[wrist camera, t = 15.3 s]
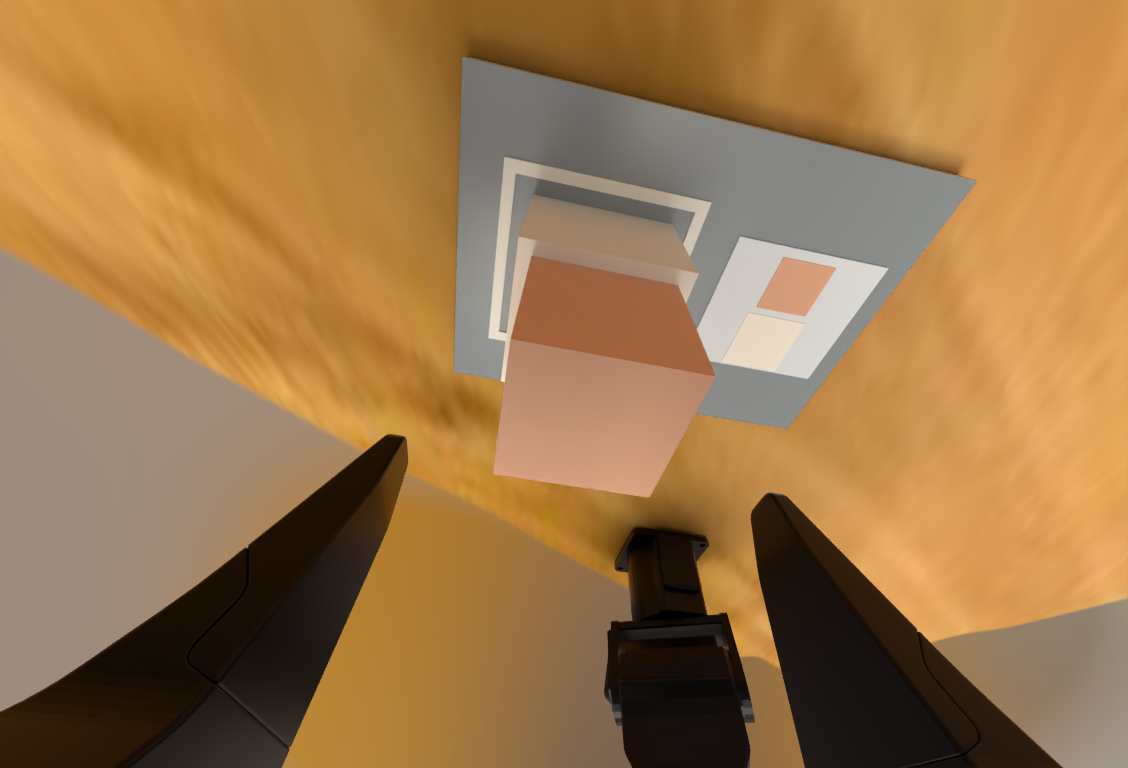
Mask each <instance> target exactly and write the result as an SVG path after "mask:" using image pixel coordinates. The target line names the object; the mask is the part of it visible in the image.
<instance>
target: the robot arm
mask: <svg viewBox="0 0 1128 768" xmlns="http://www.w3.org/2000/svg"><path fill="white" fill-rule="evenodd" d="M407 465H408V451H407V440H406V438H405V437H404V436H400V435H393V434H388V435H386V436H384V437H383V438H382V439H380V440H379V441H378V442H377V443H375V444H374V445H373V446H372V447H370V448H369V449H368V450H367V451H365V452H364V453H363V454H362V455H360V456H359V457H358V458H357V459H355V460H354V461H353V462H352V463H350V464H349V465H348V466H347V467H346V468H344V469H343V470H342V471H340V472H339V473H338V474H337V475H336V476H334V477H333V478H332V479H330V480H329V481H328V482H327V483H325V484H324V485H323V486H322V487H320V488H319V489H318V490H317V491H315V492H314V493H313V494H312V495H310V496H309V497H308V498H307V499H306V500H304V501H303V502H302V503H300V504H299V505H298V506H297V507H295V508H294V509H293V510H292V511H290V512H289V513H288V514H287V515H285V516H284V517H283V518H282V519H280V520H279V521H278V522H277V523H275V524H274V525H273V526H272V527H270V528H269V529H268V530H267V531H265V532H264V533H263V534H262V535H260V536H259V537H258V538H257V539H255V540H254V541H253V542H252V543H250V544H249V545H248V548H244V549H243V550H242V551H240V552H239V553H238V554H236V555H235V556H234V557H233V558H231V559H230V560H229V561H228V562H226V563H225V564H224V565H222V566H221V567H220V568H219V569H217V570H216V571H215V572H213V573H212V574H211V575H209V576H208V577H207V578H206V579H204V580H203V581H202V582H200V583H199V584H198V585H196V586H195V587H193V588H192V589H191V590H189V591H188V592H187V593H185V594H184V595H183V596H181V597H179V598H178V599H177V600H175V601H174V602H172V603H171V604H170V605H168V606H167V607H165V608H164V609H163V610H161V611H160V612H158V613H157V614H155V615H154V616H152V617H151V618H149V619H148V620H147V621H145V622H144V623H142V624H141V625H140V626H138V627H136V628H135V629H133V630H132V631H130V632H129V633H128V634H126V635H125V636H123V637H122V638H120V639H119V640H117V641H116V642H114V643H113V644H112V645H110V646H109V647H107V648H106V649H104V650H103V651H101V652H100V653H99V654H97V655H95V656H94V657H93V658H91V659H90V660H88V661H87V662H85V663H84V664H83V665H81V666H79V667H78V668H76V669H75V670H73V671H72V672H71V673H69V674H67V675H66V676H64V677H63V678H61V679H60V680H58V681H57V682H55V683H53V684H51V685H50V686H48V687H47V688H45V689H43V690H42V691H40V692H38V693H36V694H34V695H32V696H30V697H29V698H27V699H25V700H24V701H21V702H19V703H17V704H15V705H13V706H11V707H9V708H7V709H5V710H3V711H1V712H0V768H282V766H283V763H284V761H285V759H286V757H287V754H288V752H289V747H290V746H291V745H292V743H293V740H294V738H295V736H296V734H297V731H298V729H299V727H300V725H301V723H302V720H303V718H304V716H305V714H306V711H307V709H308V707H309V705H310V702H311V700H312V698H313V696H314V693H315V691H316V689H317V686H318V684H319V682H320V680H321V678H322V675H323V673H324V671H325V668H326V666H327V664H328V662H329V660H330V657H331V655H332V653H333V651H334V648H335V646H336V644H337V642H338V639H339V637H340V635H341V633H342V631H343V628H344V626H345V624H346V622H347V619H348V617H349V615H350V613H351V610H352V608H353V606H354V604H355V601H356V599H357V597H358V595H359V592H360V590H361V587H362V586H363V583H364V581H365V579H366V577H367V574H368V572H369V570H370V567H371V565H372V563H373V561H374V559H375V556H376V554H377V552H378V550H379V547H380V545H381V543H382V541H383V538H384V536H385V533H386V531H387V529H388V526H389V523H390V520H391V517H392V514H393V510H394V507H395V504H396V501H397V498H398V494H399V491H400V488H401V485H402V482H403V478H404V475H405V472H406V469H407ZM751 525H752V532H753V539H754V547H755V554H756V561H757V569H758V574H759V580H760V584H761V589H762V593H763V597H764V601H765V605H766V609H767V613H768V617H769V622H770V626H771V630H772V634H773V638H774V642H775V646H776V650H777V655H778V659H779V663H780V667H781V671H782V675H783V679H784V683H785V687H786V691H787V695H788V700H789V704H790V708H791V712H792V716H793V720H794V724H795V728H796V733H797V737H798V740H799V745H800V749H801V753H802V757H803V761H804V765H805V768H1063V767H1062V766H1061V765H1059V764H1058V763H1057V762H1056V761H1055V760H1054V759H1053V758H1052V757H1051V756H1050V755H1049V754H1047V753H1046V752H1045V751H1044V750H1043V749H1042V748H1041V747H1040V746H1039V745H1038V744H1036V742H1034V741H1033V740H1032V739H1031V738H1030V737H1029V736H1028V735H1027V734H1026V733H1025V732H1024V731H1023V730H1021V729H1020V728H1019V727H1018V726H1017V725H1016V724H1015V723H1014V722H1013V721H1012V720H1011V719H1010V718H1008V717H1007V716H1006V715H1005V714H1004V713H1003V712H1002V711H1001V710H1000V709H999V708H997V706H995V705H994V704H993V703H992V702H991V701H990V700H989V699H988V698H987V697H986V696H985V695H984V694H983V693H982V692H980V691H979V690H978V689H977V688H976V687H975V686H974V685H973V684H972V683H971V682H970V681H969V680H968V679H967V678H966V677H965V676H964V675H962V674H961V673H960V672H959V671H958V670H957V669H956V668H955V667H954V666H953V665H952V664H951V663H950V662H949V661H948V660H947V659H946V658H945V657H944V656H943V655H942V654H941V653H940V652H939V651H938V650H937V649H936V648H935V647H934V646H933V645H932V644H931V643H930V642H929V641H928V640H927V639H926V638H925V637H924V636H923V634H922V633H920V632H917V629H916V627H915V626H914V625H913V624H912V623H911V622H910V621H909V620H908V619H907V618H906V617H905V616H904V615H903V614H902V613H901V612H900V611H899V610H898V609H897V608H896V607H895V606H894V605H893V604H892V603H891V602H890V601H889V600H888V599H887V598H886V597H885V596H884V595H883V594H882V593H881V592H880V591H879V590H878V589H877V588H876V587H875V586H874V585H873V584H872V583H871V582H870V581H869V580H868V579H867V578H866V577H865V576H864V575H863V574H862V573H861V572H860V570H859V569H858V568H857V567H856V566H855V565H854V564H853V563H852V562H851V561H850V560H849V559H848V558H847V557H846V556H845V555H844V554H843V553H842V552H841V551H840V550H839V549H838V548H837V547H836V546H835V545H834V544H833V543H832V542H831V541H830V540H829V539H828V538H827V537H826V536H825V535H824V534H823V533H822V532H821V531H820V530H819V529H818V528H817V527H816V526H815V525H814V524H813V523H812V522H811V521H810V520H809V519H808V518H807V517H806V516H805V514H804V513H803V512H802V511H801V510H800V509H799V508H798V507H797V506H796V505H795V504H794V503H793V502H792V501H791V500H790V499H789V498H788V497H787V496H785V495H783V494H777V493H767V494H766V495H764V497H763V498H762V499H761V500H760V501H759V503H758V504H757V505H756V506H755V507H754V509H753V510H752V512H751ZM708 546H709V543H708V540H707V539H706V538H702V537H694V536H687V535H680V534H673V533H666V532H659V531H652V530H645V529H635V530H633V531H632V533H631V535H630V537H629V539H628V540H627V542H626V544H625V546H624V548H623V549H622V551H621V553H620V555H619V557H618V559H617V560H616V562H615V570H617V571H621V572H628V579H629V590H630V602H631V613H632V621H625V622H619V621H611V630H609V631H608V632H607V634H608V662H607V670H606V678H605V687H604V694H605V698H606V699H607V700H608V701H609V702H610V704H611V706H612V710H613V713H614V718H615V721H616V724H617V725H618V726H622V730H623V742H624V750H625V754H626V756H627V758H628V760H629V762H630V764H631V766H632V768H749V767H750V744H749V740H748V736H747V731H746V727H745V723H754V722H755V721H754V714H753V708H752V704H751V699H750V695H749V691H748V687H747V682H746V678H745V675H744V671H743V668H742V664H741V660H740V657H739V653H738V650H737V647H736V643H735V640H734V636H733V633H732V629H731V626H730V622H729V619H728V615H727V613H719V615H707V611H706V606H705V602H704V597H703V593H702V586H701V582H700V577H699V573H698V568H697V564H696V561H697V560H698V559H699V557H700V556H701V555H702V554H703V552H704V551H705V550H706V549H707V547H708ZM723 646H724V647H723Z"/></svg>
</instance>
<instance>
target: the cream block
mask: <svg viewBox="0 0 1128 768" xmlns="http://www.w3.org/2000/svg"><path fill="white" fill-rule="evenodd" d="M531 256H536V257H541V258H546V259H551V260H555V261H560V262H565V263H570V264H575V265H580V266H585V267H590V268H595V269H600V270H605V271H610V272H615V273H620V274H625V275H629V276H634V277H639V278H644V279H649V280H654V281H659V282H664V283H669V284H674V285H678V286H679V288H680V291H681V293H682V296H683V298H684V300H685V303H686V302H687V300H688V298H689V295H690V293H691V291H692V288H693V286H694V284H695V281H696V279H697V277H698V274H699V273H698V271H697V269H696V267H695V265H694V264H693V262H692V260H691V258H690V256H689V254H688V252H687V250H686V248H685V247H684V245H683V243H682V241H681V239H680V237H679V235H678V233H677V231H676V230H675V228H674V226H673V224H668V223H664V222H659V221H654V220H650V219H645V218H640V217H636V216H631V215H627V214H622V213H617V212H613V211H608V210H603V209H599V208H594V207H590V206H585V205H580V204H576V203H571V202H566V201H562V200H557V199H552V198H548V197H543V196H539V195H534V194H533V197H532V200H531V202H530V205H529V208H528V211H527V214H526V217H525V219H524V222H523V225H522V228H521V231H520V234H519V237H518V245H517V253H516V261H515V269H514V277H513V285H512V293H511V302H510V310H509V318H508V326H507V334H506V342H505V350H504V359H503V367H502V375H501V382H505V376H506V369H507V361H508V353H509V346H510V339H511V335H512V331H513V327H514V323H515V319H516V315H517V311H518V307H519V303H520V299H521V295H522V291H523V287H524V284H525V280H526V276H527V272H528V268H529V264H530V260H531Z"/></svg>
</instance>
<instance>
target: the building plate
mask: <svg viewBox="0 0 1128 768" xmlns="http://www.w3.org/2000/svg"><path fill="white" fill-rule="evenodd" d="M976 182H977V181H975V180H972V179H969V178H966V177H963V176H960V175H956V174H952V173H947V172H943V171H939V170H935V169H931V168H927V167H923V166H919V165H914V164H910V163H906V162H902V161H898V160H894V159H890V158H886V157H881V156H877V155H873V154H869V153H865V152H861V151H857V150H852V149H848V148H844V147H840V146H836V145H832V144H828V143H824V142H819V141H815V140H811V139H807V138H803V137H799V136H795V135H791V134H786V133H782V132H778V131H774V130H770V129H766V128H762V127H757V126H753V125H749V124H745V123H741V122H737V121H733V120H729V119H724V118H720V117H716V116H712V115H708V114H704V113H700V112H696V111H691V110H687V109H683V108H679V107H675V106H671V105H667V104H662V103H658V102H654V101H650V100H646V99H642V98H638V97H634V96H629V95H625V94H621V93H617V92H613V91H609V90H605V89H601V88H596V87H592V86H588V85H584V84H580V83H576V82H572V81H567V80H563V79H559V78H555V77H551V76H547V75H543V74H539V73H534V72H530V71H526V70H522V69H518V68H514V67H510V66H506V65H501V64H497V63H493V62H489V61H485V60H481V59H477V58H472V57H462V83H461V121H460V159H459V197H458V234H457V272H456V310H455V347H454V372H456V373H461V374H467V375H473V376H479V377H485V378H491V379H497V380H501V375H502V367H503V359H504V350H505V342H506V334H507V326H508V318H509V310H510V302H511V293H512V285H513V277H514V269H515V261H516V253H517V245H518V237H519V234H520V231H521V228H522V225H523V222H524V219H525V217H526V214H527V211H528V208H529V205H530V202H531V200H532V197H533V194H534V195H539V196H543V197H548V198H552V199H557V200H562V201H566V202H571V203H576V204H580V205H585V206H590V207H594V208H599V209H603V210H608V211H613V212H617V213H622V214H627V215H631V216H636V217H640V218H645V219H650V220H654V221H659V222H664V223H668V224H673V226H674V228H675V230H676V231H677V233H678V235H679V237H680V239H681V241H682V243H683V245H684V247H685V248H686V250H687V252H688V254H689V256H690V258H691V260H692V262H693V264H694V265H695V267H696V269H697V271H698V273H699V274H698V277H697V279H696V281H695V284H694V286H693V288H692V291H691V293H690V295H689V298H688V300H687V302H686V305H687V308H688V310H689V312H690V315H691V317H692V320H693V322H694V325H695V327H696V329H697V332H698V334H699V337H700V339H701V341H702V344H703V346H704V349H705V351H706V353H707V356H708V358H709V361H710V363H711V366H712V368H713V370H714V373H715V375H716V378H715V379H714V381H713V383H712V385H711V387H710V389H709V390H708V392H707V394H706V396H705V398H704V399H703V401H702V403H701V405H700V407H699V409H698V410H697V412H696V414H702V415H708V416H713V417H719V418H725V419H731V420H737V421H743V422H749V423H754V424H760V425H766V426H772V427H778V428H784V429H787V428H788V427H789V426H790V425H791V423H792V422H793V421H794V419H795V418H796V417H797V415H798V414H799V413H800V412H801V410H802V409H803V408H804V406H805V405H806V404H807V402H808V401H809V400H810V399H811V397H812V396H813V395H814V393H815V392H816V391H817V389H818V388H819V387H820V385H821V384H822V383H823V382H824V380H825V379H826V378H827V376H828V375H829V374H830V372H831V371H832V370H833V369H834V367H835V366H836V365H837V363H838V362H839V361H840V359H841V358H842V357H843V356H844V354H845V353H846V352H847V350H848V349H849V348H850V346H851V345H852V344H853V343H854V341H855V340H856V339H857V337H858V336H859V335H860V333H861V332H862V331H863V329H864V328H865V327H866V326H867V324H868V323H869V322H870V320H871V319H872V318H873V316H874V315H875V314H876V313H877V311H878V310H879V309H880V307H881V306H882V305H883V303H884V302H885V301H886V300H887V298H888V297H889V296H890V294H891V293H892V292H893V290H894V289H895V288H896V286H897V285H898V284H899V283H900V281H901V280H902V279H903V277H904V276H905V275H906V273H907V272H908V271H909V270H910V268H911V267H912V266H913V264H914V263H915V262H916V260H917V259H918V258H919V257H920V255H921V254H922V253H923V251H924V250H925V249H926V247H927V246H928V245H929V244H930V242H931V241H932V240H933V238H934V237H935V236H936V234H937V233H938V232H939V230H940V229H941V228H942V227H943V225H944V224H945V223H946V221H947V220H948V219H949V217H950V216H951V215H952V214H953V212H954V211H955V210H956V208H957V207H958V206H959V204H960V203H961V202H962V201H963V199H964V198H965V197H966V195H967V194H968V193H969V191H970V190H971V189H972V187H973V186H974V185H975V184H976Z"/></svg>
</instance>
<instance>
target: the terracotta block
mask: <svg viewBox="0 0 1128 768" xmlns="http://www.w3.org/2000/svg"><path fill="white" fill-rule="evenodd" d="M715 378H716V375H715V373H714V370H713V368H712V366H711V363H710V361H709V358H708V356H707V353H706V351H705V349H704V346H703V344H702V341H701V339H700V337H699V334H698V332H697V329H696V327H695V325H694V322H693V320H692V317H691V315H690V312H689V310H688V308H687V305H686V303H685V300H684V298H683V296H682V293H681V291H680V288H679V286H678V285H674V284H669V283H664V282H659V281H654V280H649V279H644V278H639V277H634V276H629V275H625V274H620V273H615V272H610V271H605V270H600V269H595V268H590V267H585V266H580V265H575V264H570V263H565V262H560V261H555V260H551V259H546V258H541V257H536V256H531V260H530V264H529V268H528V272H527V276H526V280H525V284H524V287H523V291H522V295H521V299H520V303H519V307H518V311H517V315H516V319H515V323H514V327H513V331H512V335H511V339H510V346H509V353H508V361H507V369H506V376H505V384H504V391H503V399H502V406H501V414H500V421H499V429H498V437H497V444H496V452H495V459H494V467H493V474H495V475H502V476H508V477H515V478H522V479H528V480H535V481H542V482H548V483H555V484H562V485H568V486H575V487H581V488H588V489H595V490H601V491H608V492H615V493H621V494H628V495H635V496H641V497H648V498H650V496H651V494H652V492H653V490H654V488H655V487H656V485H657V483H658V481H659V479H660V478H661V476H662V474H663V472H664V470H665V468H666V467H667V465H668V463H669V461H670V459H671V458H672V456H673V454H674V452H675V450H676V448H677V447H678V445H679V443H680V441H681V439H682V438H683V436H684V434H685V432H686V430H687V428H688V427H689V425H690V423H691V421H692V419H693V418H694V416H695V414H696V412H697V410H698V409H699V407H700V405H701V403H702V401H703V399H704V398H705V396H706V394H707V392H708V390H709V389H710V387H711V385H712V383H713V381H714V379H715Z"/></svg>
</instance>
